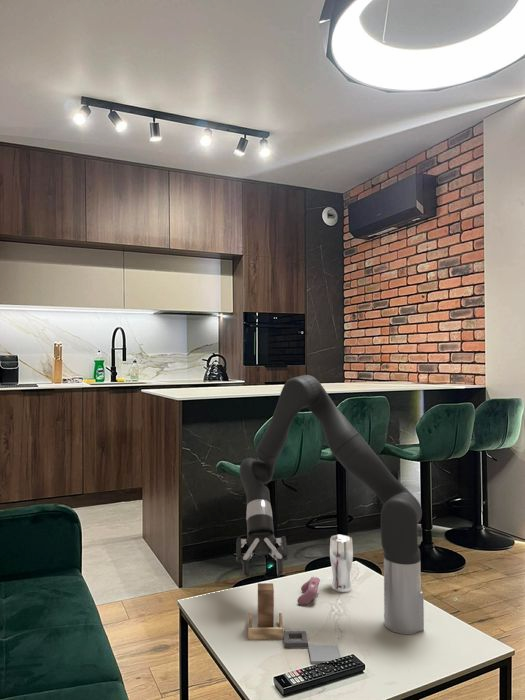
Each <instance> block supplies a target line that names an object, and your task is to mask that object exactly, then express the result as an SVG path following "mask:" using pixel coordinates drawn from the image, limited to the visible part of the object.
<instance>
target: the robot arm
mask: <svg viewBox="0 0 525 700" xmlns="http://www.w3.org/2000/svg"><path fill="white" fill-rule="evenodd" d="M306 408H307V409H308V410H309V412H311V414H312V415H314V417H315V418H316V420H317V421H318V423H320V425H321V428H322V431H323V434H324V437H325V441H326V443H327V446H328V448H329V450H330V452H331V454H332V455H333V456H334V457H335V458H336V460H337V461H338V462H339V463H340V464H341V466H342V467H343V468H344V469H345V470H346V471H347V472H349V474H351V476H353V477H355V478H356V479H357V480H359V481H361V482H362V483H363V484H364V485H366V486H367V487H368V488H369V489H370V491H372V492H373V493H374V495H375V496H376V497H377V498H378V500H379V501H380V502H381V504H382V508H381V511H380V512H381V513H380V538H381V540H380V541H381V542H380V543H381V547H382V551H383V604H384V605H383V613H384V614H383V618H384V620H383V621H384V622H383V623H384V626H385V628H387V629H389V630H390V631H391V632H393V633H397V634H401V635H403V634H404V635H412V634H413V635H414V634H417V633H418V632H424V631H425V623H424V622H425V621H424V620H425V618H424V616H425V613H424V611H425V610H424V609H425V608H424V606H425V604H424V592H423V590H422V588H421V584H422V583H421V575H422V574H421V550H420V548H419V543H418V525H419V523H420V522H421V520H422V516H423V510H422V506H421V504H420V501H419V500H418V499H417V498H416V497H415V495H414V494H412V493H411V492H410V491H409V490H408V489H407V488H406V487H405V486H404V485H403V484H402V483H401V482H400V481H399V480H398V479H397V478H396V477H395V476H394V475H393V474H392V473H391V472H390V471H389V468H387V466H386V465H385V464H384V463H383V462H382V460H381V459H380V457H379V456H378V455H377V454H376V453H375V451H374V450H373V449H372V448H371V446H370V444H368V442H367V441H366V440H365V439H364V437H362V435H361V434H360V432H359V431H358V430H356V428H355V427H354V426H353V425H352V424H351V423H350V421H349V420H348V419H347V418H346V416H345V415H344V414H343V413H342V412H341V411H340V409H339V408H338V407H337V405H336V404H335V403H334V400H332V398H331V396H330V395H329V394H328V393H327V391H326V389H325V388H324V386H323V385H322V384H321V382H320V381H319V380H318V379H317V378H316V377H314V376H312V375H309V374H303V375H299V376H295V377H291V378H290V379H288V380H287V381H286V382H284V385H283V387H282V389H281V391H280V394H279V397H278V400H277V404H276V407H275V409H274V412H273V414H272V417H271V419H270V422H269V424H268V426H267V428H266V430H265V432H264V434H263V436H262V437H261V439H260V441H259V442H258V444H257V446H256V448H255V455H256V456H257V458H258V459H255V458H249V457H247V458H245V459H243V461H242V462H241V463H240V466H239V478H240V480H241V481H240V482H241V483H242V486H243V488H244V492H245V495H246V518H245V520H246V528H247V529H246V530H247V531H246V532H247V533H246V535H247V537H246V538H241V537H240V536H238V537H236V549H235V550H236V551H235V552H236V553H235V555H236V556H235V561H236V562H237V563H239V562H240V563H241V564H242V574H243V576H245V578H249V575H250V572H249V571H250V568H249V561H250V559H252V557H253V556H254V554H255V555H256V556H261V555H264V556H267V555H269V556H271V557H272V558H273V559H274V560H275V561H276V575H277V577H281V575H282V574H283V571H284V565H283V562H284V561H287V560H288V557H289V550H288V543H287V538H286V536H284V535H282V536H281V537H276V536H275V531H274V522H273V521H274V518H273V510H272V505H271V494H270V489H269V488H268V487H267V484H268V483H270V482H271V481H272V479H273V476H274V471H275V467H276V463H277V460H278V457H279V456H280V454H281V452H282V450H283V449H284V447H285V445H286V443H287V441H288V437H289V431H290V427H291V425H292V422H293V421H294V419H295V417H296V416H297V415H298V414H299V413H300V412H301V410H302V409H306ZM276 544H278V546H279V547H281V552H282V554H281V553H280V552H279V551H278V549H277V548H276ZM245 545H246V546H247V547H248V549H247V551H246V552H245V553H244V555H242V548H243V547H245Z"/></svg>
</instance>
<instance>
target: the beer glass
mask: <svg viewBox="0 0 525 700" xmlns="http://www.w3.org/2000/svg"><path fill="white" fill-rule="evenodd" d="M329 558H330V565H331V571H332V581H331V589H332V590H333V591H335V592H337V593H349V592H351V591H352V589H353V587H352V581H351V572H352V566H353V559H354V545H353V537H351V536H349V535H345V534H335V535H331V537H330V543H329Z"/></svg>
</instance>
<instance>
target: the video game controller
mask: <svg viewBox="0 0 525 700" xmlns="http://www.w3.org/2000/svg"><path fill="white" fill-rule="evenodd" d="M320 582H321V579H320V577H317V576H314V575H313V576H312V577H310V579H308V581H306V582H304V583H303V584H302V585H301V586H300V591H301V592H302V594H301V595H300V596H299V597H298V598H297V600H296V601H297V603H298V605H300V606H304V605H306V604H309V603H311V602H313V600H314V599H315V597H317V598H318V596H319V592H318V590H319V584H320Z"/></svg>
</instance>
